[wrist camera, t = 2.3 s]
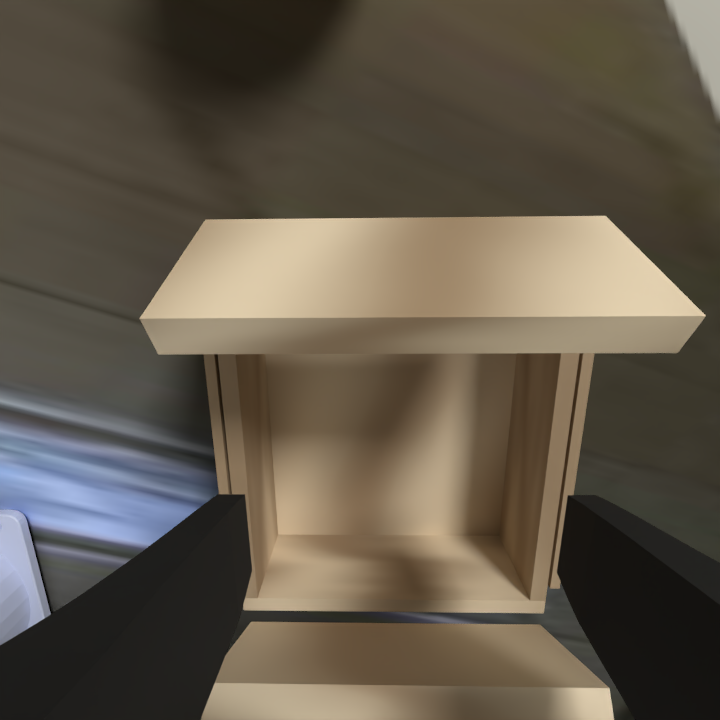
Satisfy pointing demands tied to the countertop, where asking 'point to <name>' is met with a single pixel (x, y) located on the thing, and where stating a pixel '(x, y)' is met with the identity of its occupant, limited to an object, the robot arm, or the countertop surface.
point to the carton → (400, 475)
